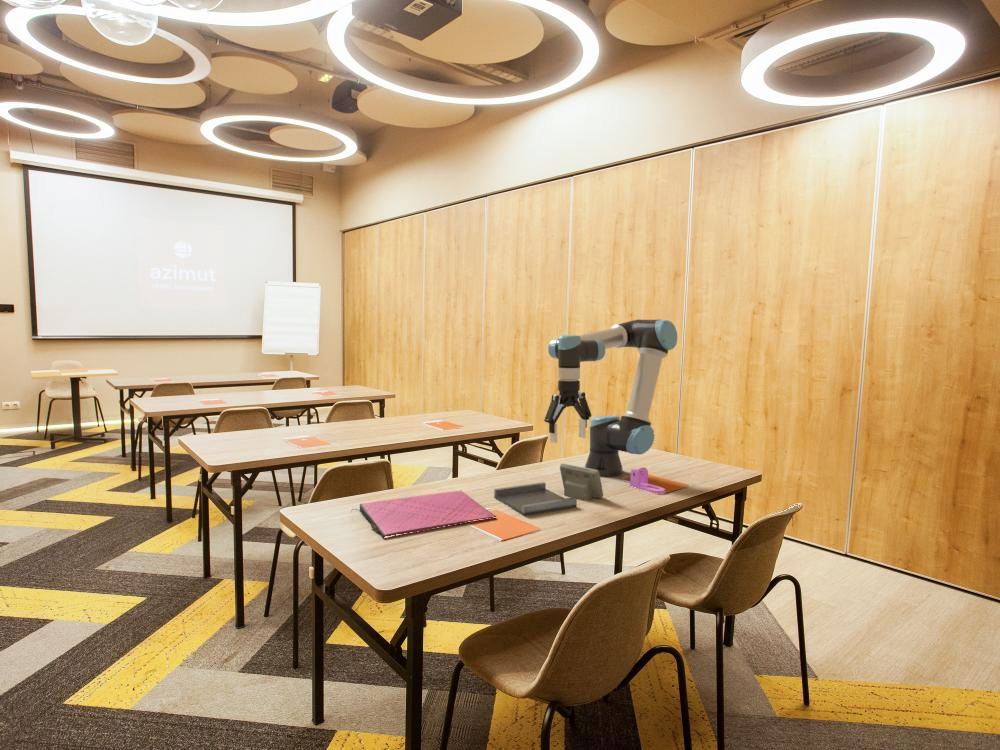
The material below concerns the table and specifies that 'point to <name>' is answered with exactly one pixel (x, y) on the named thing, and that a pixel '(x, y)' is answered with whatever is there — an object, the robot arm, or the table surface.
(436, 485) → the table surface
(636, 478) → the bracket
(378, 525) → the laptop bag
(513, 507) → the rail plate
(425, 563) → the table surface
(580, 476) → the digital clock
